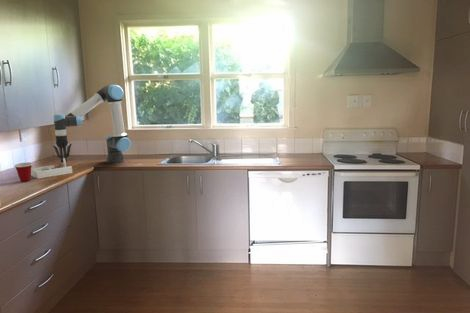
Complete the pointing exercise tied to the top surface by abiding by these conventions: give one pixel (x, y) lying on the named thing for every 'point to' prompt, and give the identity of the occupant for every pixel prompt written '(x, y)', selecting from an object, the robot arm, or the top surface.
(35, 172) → the box
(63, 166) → the walnut block
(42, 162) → the top surface
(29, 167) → the plastic cup
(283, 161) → the top surface
